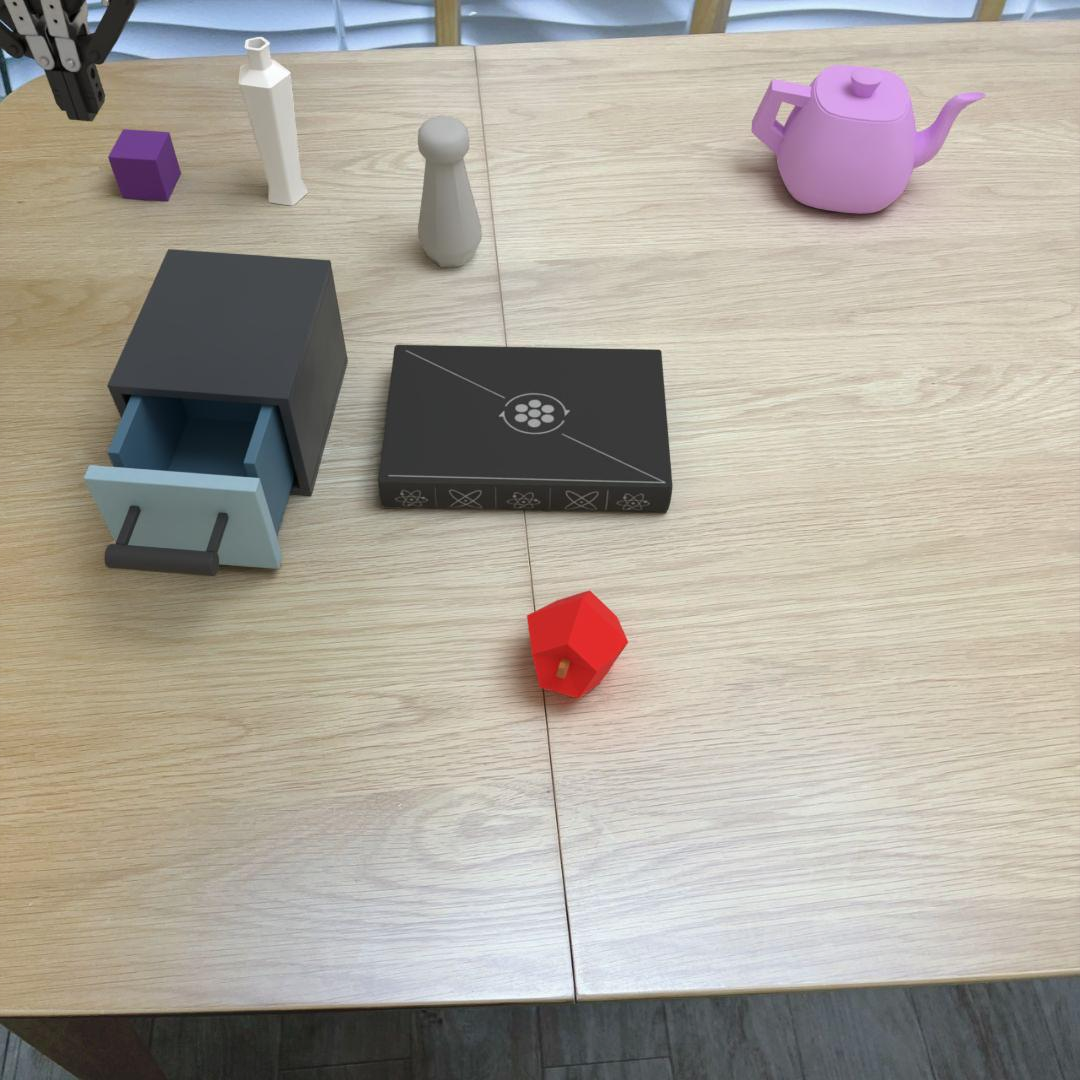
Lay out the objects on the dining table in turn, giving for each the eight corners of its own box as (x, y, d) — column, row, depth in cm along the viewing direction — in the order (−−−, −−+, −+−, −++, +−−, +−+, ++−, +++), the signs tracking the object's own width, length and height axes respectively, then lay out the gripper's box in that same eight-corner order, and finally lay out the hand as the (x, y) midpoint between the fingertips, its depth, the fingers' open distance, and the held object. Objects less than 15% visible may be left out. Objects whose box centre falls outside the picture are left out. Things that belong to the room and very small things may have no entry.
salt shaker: (495, 248, 101) (492, 121, 90) (457, 282, 98) (450, 155, 87) (444, 225, 102) (436, 97, 92) (406, 257, 100) (393, 130, 89)
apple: (556, 550, 74) (523, 616, 67) (648, 591, 73) (624, 662, 67) (525, 623, 78) (491, 693, 71) (613, 663, 77) (586, 737, 71)
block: (121, 198, 104) (107, 156, 101) (136, 169, 107) (122, 128, 103) (168, 201, 104) (155, 160, 100) (181, 173, 107) (169, 131, 103)
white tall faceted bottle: (252, 192, 105) (217, 42, 93) (290, 174, 107) (261, 24, 95) (279, 215, 103) (247, 64, 91) (317, 196, 105) (291, 46, 93)
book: (380, 511, 82) (376, 485, 80) (397, 370, 91) (394, 344, 89) (668, 516, 82) (673, 490, 80) (657, 375, 91) (661, 349, 89)
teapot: (950, 236, 103) (992, 130, 94) (737, 208, 105) (758, 102, 96) (946, 153, 110) (983, 48, 102) (748, 129, 112) (768, 24, 103)
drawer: (263, 626, 75) (236, 551, 68) (100, 613, 75) (57, 537, 68) (318, 429, 86) (300, 346, 79) (175, 418, 86) (144, 335, 79)
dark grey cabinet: (311, 496, 83) (288, 398, 74) (148, 483, 83) (106, 385, 75) (348, 361, 92) (330, 259, 83) (200, 350, 92) (167, 248, 84)
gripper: (129, -194, 62) (198, 91, 75) (-100, -210, 62) (11, 76, 76) (82, -136, 57) (165, 155, 71) (-164, -155, 58) (-34, 138, 72)
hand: (85, 113), depth 73 cm, fingers closed
